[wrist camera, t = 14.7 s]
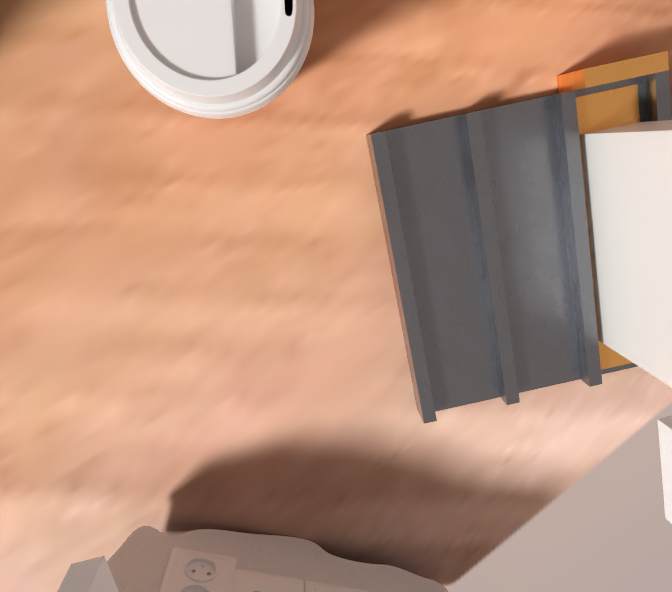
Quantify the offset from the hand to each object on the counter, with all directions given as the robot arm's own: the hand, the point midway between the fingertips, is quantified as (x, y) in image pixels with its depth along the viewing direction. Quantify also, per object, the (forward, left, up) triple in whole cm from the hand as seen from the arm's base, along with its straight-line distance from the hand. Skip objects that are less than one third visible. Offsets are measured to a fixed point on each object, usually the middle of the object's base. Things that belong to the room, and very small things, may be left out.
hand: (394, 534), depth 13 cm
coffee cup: (-16, -3, -31) cm, 35 cm away
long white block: (+2, +22, -30) cm, 37 cm away
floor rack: (+2, +15, -31) cm, 35 cm away
